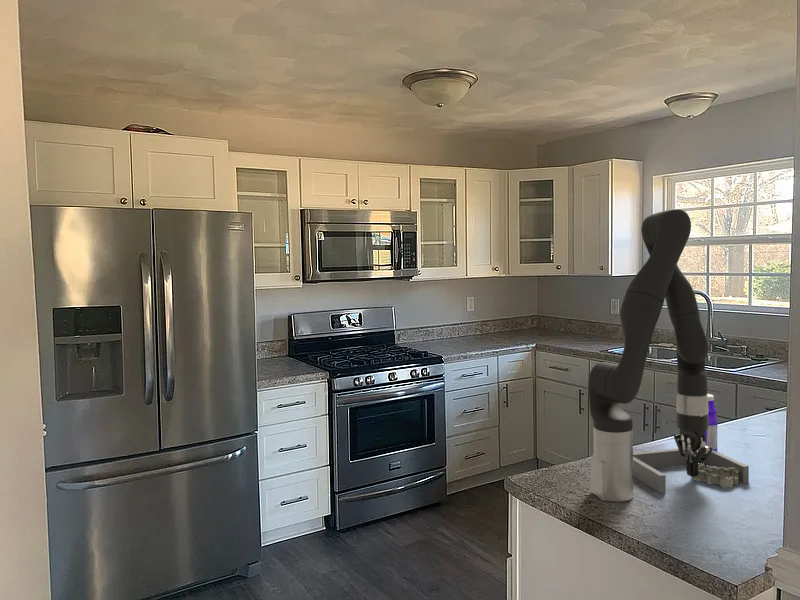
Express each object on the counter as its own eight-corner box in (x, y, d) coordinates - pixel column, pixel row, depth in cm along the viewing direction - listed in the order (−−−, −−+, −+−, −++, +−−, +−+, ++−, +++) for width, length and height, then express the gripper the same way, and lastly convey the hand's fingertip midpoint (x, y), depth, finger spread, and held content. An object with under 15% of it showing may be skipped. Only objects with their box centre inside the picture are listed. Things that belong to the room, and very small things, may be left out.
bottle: (720, 456, 180) (720, 397, 179) (699, 456, 181) (699, 397, 180) (712, 449, 187) (712, 392, 186) (692, 448, 188) (692, 392, 187)
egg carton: (742, 483, 160) (742, 468, 160) (727, 490, 156) (727, 475, 156) (702, 472, 169) (702, 457, 169) (687, 478, 165) (687, 463, 164)
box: (660, 493, 155) (660, 475, 155) (623, 469, 172) (623, 454, 172) (748, 483, 159) (748, 466, 159) (703, 461, 177) (703, 445, 176)
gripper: (663, 405, 167) (664, 468, 168) (695, 418, 154) (695, 486, 155) (689, 403, 168) (689, 466, 169) (722, 415, 155) (722, 483, 156)
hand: (692, 475), depth 162 cm, fingers closed
